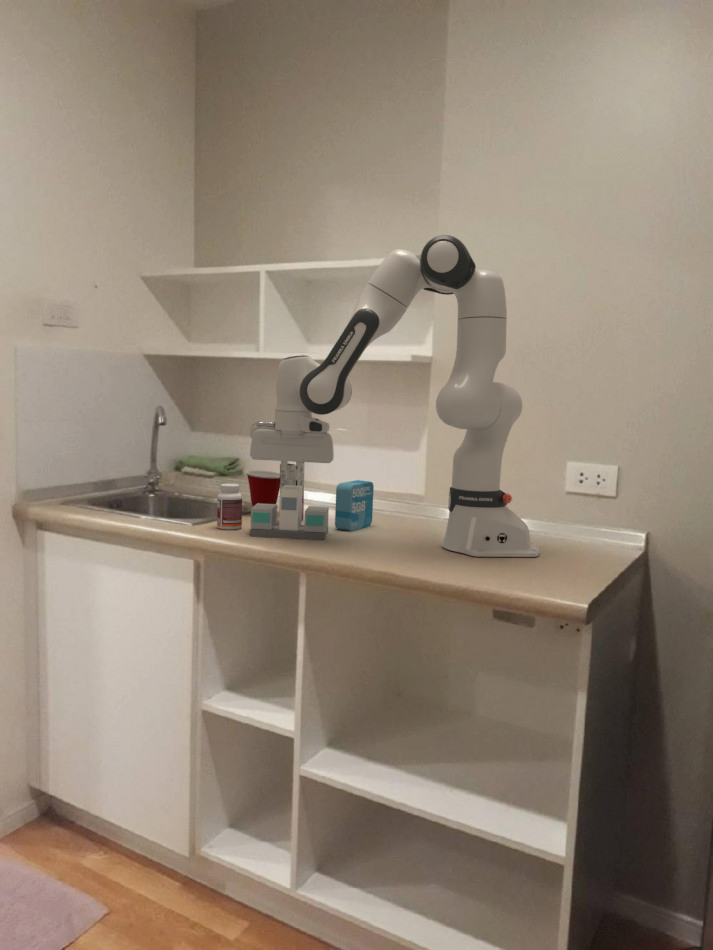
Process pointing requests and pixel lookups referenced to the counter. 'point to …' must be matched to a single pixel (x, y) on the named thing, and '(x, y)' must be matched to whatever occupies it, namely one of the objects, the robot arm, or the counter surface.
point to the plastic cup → (263, 486)
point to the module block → (290, 507)
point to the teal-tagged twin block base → (268, 527)
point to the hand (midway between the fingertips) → (291, 479)
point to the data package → (354, 505)
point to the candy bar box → (299, 482)
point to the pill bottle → (229, 507)
